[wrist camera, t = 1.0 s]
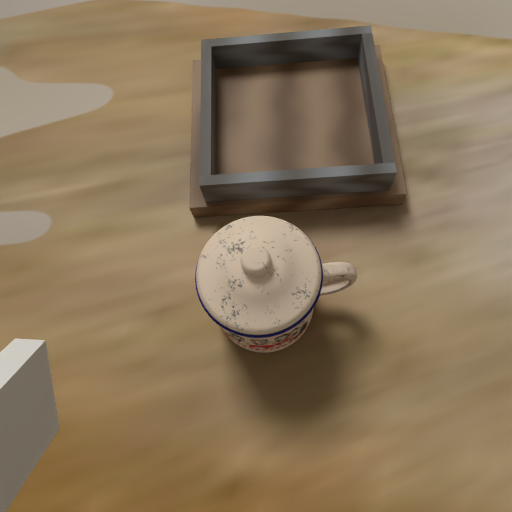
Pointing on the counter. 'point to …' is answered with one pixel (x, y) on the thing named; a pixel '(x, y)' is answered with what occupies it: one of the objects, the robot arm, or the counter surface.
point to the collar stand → (292, 124)
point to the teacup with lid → (265, 281)
